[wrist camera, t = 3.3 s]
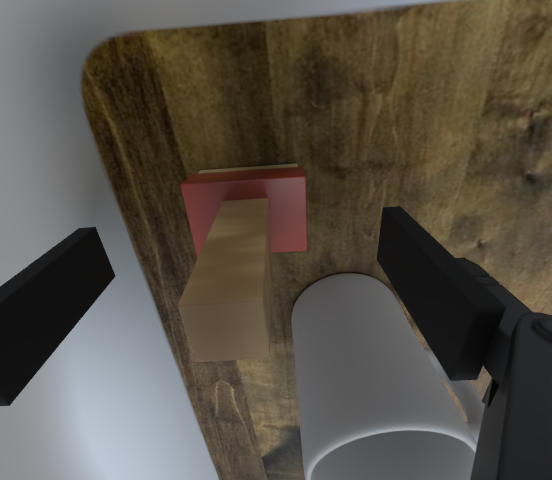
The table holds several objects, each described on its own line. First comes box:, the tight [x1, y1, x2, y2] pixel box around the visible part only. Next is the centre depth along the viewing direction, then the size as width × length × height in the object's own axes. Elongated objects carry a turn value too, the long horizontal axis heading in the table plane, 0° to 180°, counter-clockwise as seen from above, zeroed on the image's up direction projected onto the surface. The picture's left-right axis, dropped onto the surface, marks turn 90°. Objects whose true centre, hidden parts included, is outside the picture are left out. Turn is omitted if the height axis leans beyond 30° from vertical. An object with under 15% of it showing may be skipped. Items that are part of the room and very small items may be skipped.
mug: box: [291, 273, 485, 480], centre depth 19 cm, size 12×8×11 cm
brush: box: [178, 164, 307, 362], centre depth 13 cm, size 6×4×12 cm
